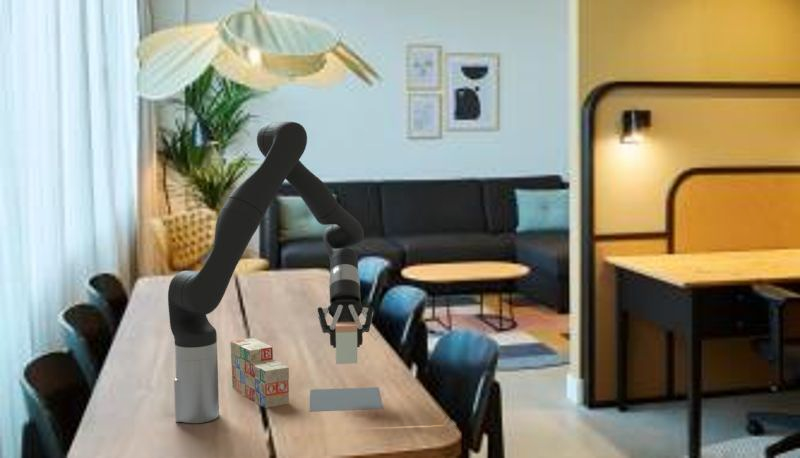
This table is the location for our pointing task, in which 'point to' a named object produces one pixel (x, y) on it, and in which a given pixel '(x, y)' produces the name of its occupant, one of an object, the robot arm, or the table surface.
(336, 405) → the charcoal mat
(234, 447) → the table surface
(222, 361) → the table surface
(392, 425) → the table surface
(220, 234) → the robot arm
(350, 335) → the sage block
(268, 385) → the stack of blocks
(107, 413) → the table surface
